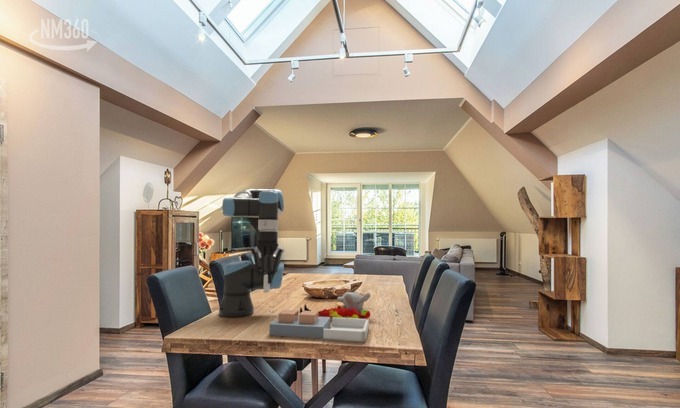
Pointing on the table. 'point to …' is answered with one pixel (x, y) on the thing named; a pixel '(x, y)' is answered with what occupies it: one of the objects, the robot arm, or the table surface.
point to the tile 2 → (308, 316)
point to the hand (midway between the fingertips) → (266, 292)
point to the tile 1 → (288, 316)
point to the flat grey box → (300, 328)
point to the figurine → (341, 313)
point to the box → (347, 330)
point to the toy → (353, 300)
